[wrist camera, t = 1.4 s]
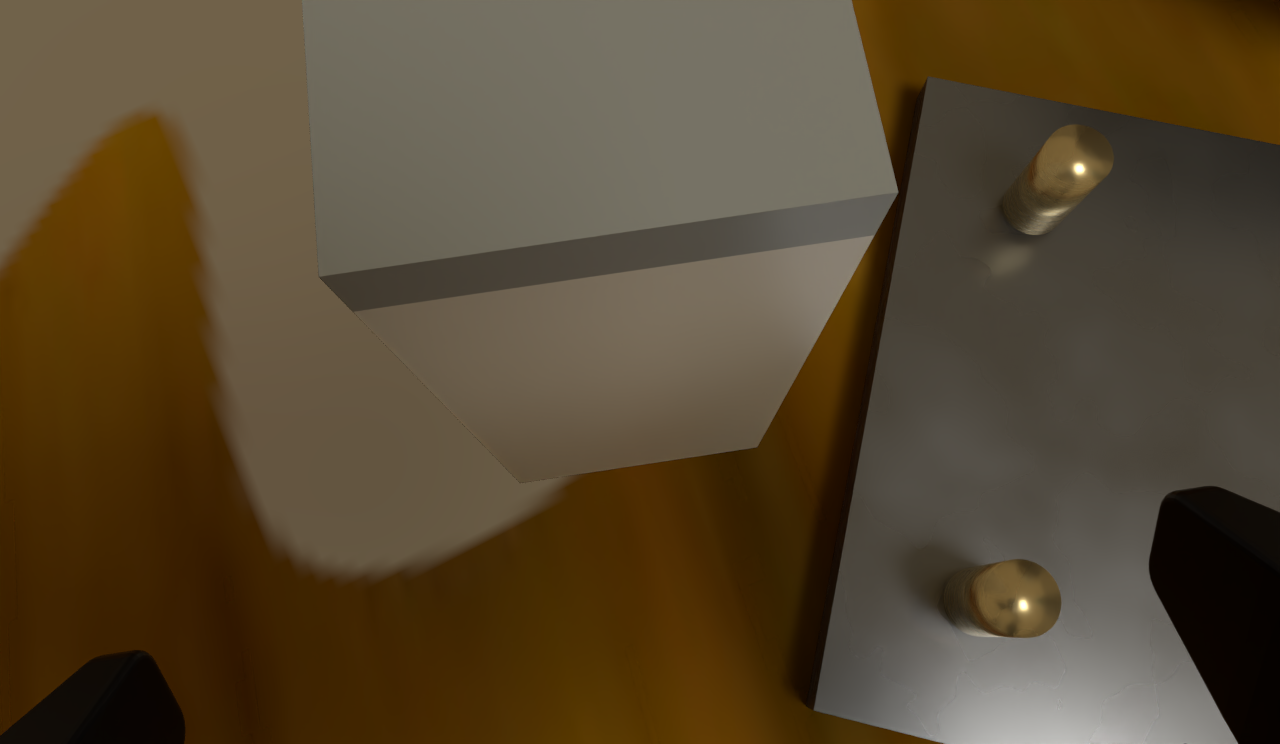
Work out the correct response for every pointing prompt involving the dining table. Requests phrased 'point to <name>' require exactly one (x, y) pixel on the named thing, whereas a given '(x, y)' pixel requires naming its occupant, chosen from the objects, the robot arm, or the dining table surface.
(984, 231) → the plate
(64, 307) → the dining table surface
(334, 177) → the module box
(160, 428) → the dining table surface
